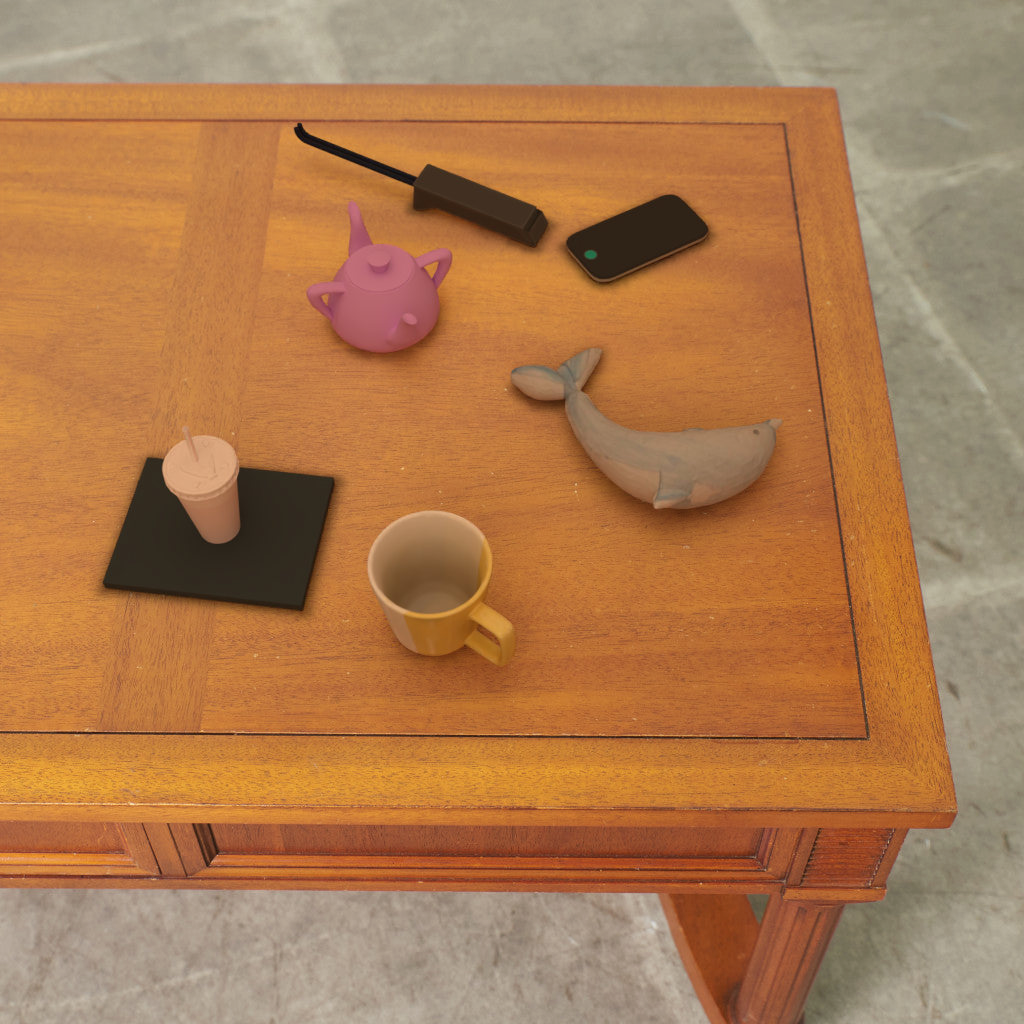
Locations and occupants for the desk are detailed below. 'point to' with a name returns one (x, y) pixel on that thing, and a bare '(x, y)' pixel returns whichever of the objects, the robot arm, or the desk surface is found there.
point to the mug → (438, 586)
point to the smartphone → (636, 238)
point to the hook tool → (453, 195)
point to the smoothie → (206, 484)
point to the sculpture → (654, 443)
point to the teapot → (381, 293)
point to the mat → (234, 564)
